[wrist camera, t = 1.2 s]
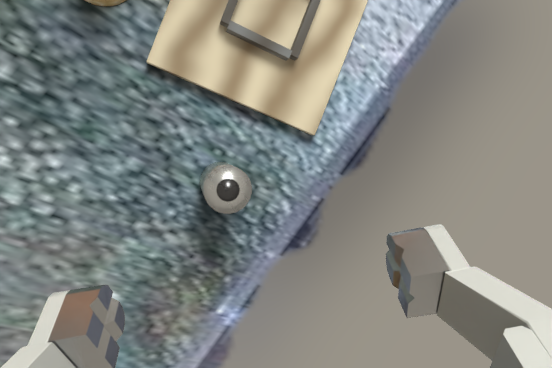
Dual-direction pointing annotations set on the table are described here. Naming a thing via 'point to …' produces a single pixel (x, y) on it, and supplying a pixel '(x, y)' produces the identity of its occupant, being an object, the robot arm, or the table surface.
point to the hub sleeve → (225, 187)
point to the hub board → (260, 52)
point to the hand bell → (105, 2)
